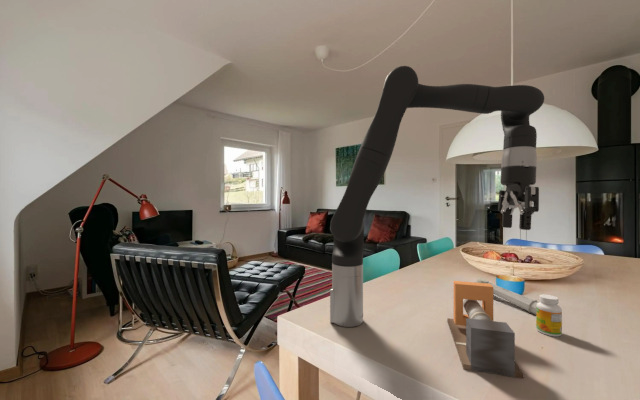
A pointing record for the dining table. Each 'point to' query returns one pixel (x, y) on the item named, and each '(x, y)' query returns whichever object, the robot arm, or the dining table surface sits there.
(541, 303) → the supplement bottle
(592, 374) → the dining table surface
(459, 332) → the pipe stand
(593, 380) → the dining table surface
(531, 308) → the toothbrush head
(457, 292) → the collar
